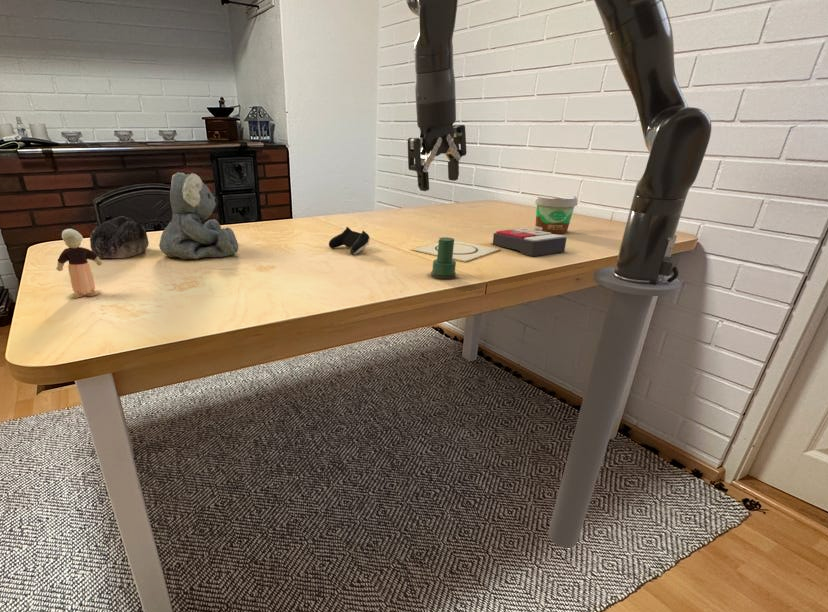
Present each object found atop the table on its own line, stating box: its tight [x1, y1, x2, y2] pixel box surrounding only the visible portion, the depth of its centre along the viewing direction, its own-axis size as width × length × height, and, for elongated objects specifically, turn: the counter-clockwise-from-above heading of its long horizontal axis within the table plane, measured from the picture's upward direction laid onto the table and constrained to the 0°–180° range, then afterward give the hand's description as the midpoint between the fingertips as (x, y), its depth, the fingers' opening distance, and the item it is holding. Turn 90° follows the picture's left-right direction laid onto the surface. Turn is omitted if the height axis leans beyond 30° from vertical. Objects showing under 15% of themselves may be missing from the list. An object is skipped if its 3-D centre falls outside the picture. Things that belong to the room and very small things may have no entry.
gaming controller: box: [328, 226, 371, 255], centre depth 121 cm, size 11×4×7 cm
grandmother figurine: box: [56, 228, 104, 299], centre depth 88 cm, size 8×4×13 cm, turn 126°
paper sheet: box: [412, 239, 501, 263], centre depth 121 cm, size 16×16×1 cm
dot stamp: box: [430, 236, 457, 281], centre depth 99 cm, size 5×5×8 cm
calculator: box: [492, 227, 567, 257], centre depth 122 cm, size 11×4×15 cm
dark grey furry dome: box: [89, 215, 150, 259], centre depth 118 cm, size 13×14×10 cm
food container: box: [534, 195, 578, 235], centre depth 137 cm, size 12×6×10 cm, turn 95°
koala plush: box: [158, 171, 239, 260], centre depth 115 cm, size 17×18×20 cm
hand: (439, 185), depth 98 cm, fingers open, 8 cm apart
